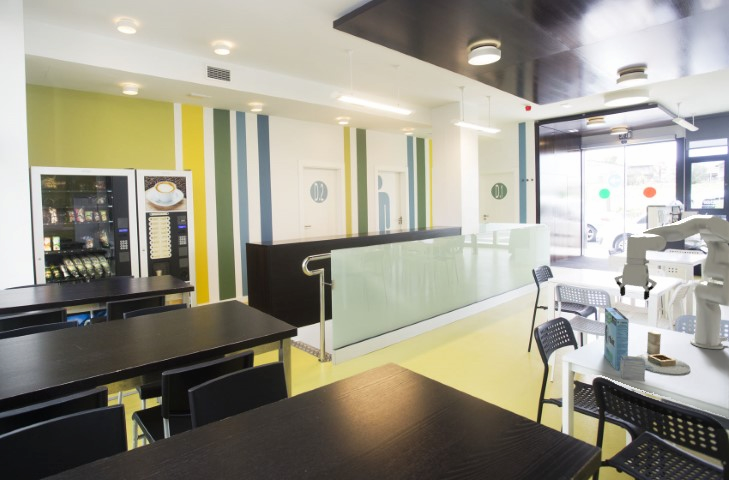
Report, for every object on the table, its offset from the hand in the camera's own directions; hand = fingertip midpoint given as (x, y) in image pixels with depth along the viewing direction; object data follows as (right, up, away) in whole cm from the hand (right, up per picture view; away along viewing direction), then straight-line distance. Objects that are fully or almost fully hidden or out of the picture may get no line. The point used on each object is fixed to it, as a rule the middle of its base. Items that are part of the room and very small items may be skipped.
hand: (634, 297), depth 196 cm
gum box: (-14, -29, -8) cm, 33 cm away
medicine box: (-17, -30, -24) cm, 42 cm away
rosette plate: (+4, -28, -13) cm, 31 cm away
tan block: (+10, -27, +1) cm, 29 cm away
